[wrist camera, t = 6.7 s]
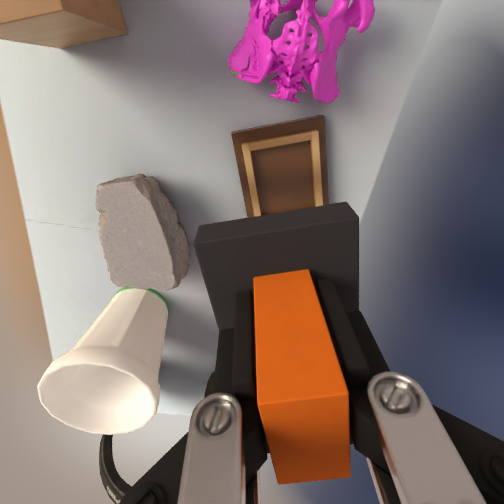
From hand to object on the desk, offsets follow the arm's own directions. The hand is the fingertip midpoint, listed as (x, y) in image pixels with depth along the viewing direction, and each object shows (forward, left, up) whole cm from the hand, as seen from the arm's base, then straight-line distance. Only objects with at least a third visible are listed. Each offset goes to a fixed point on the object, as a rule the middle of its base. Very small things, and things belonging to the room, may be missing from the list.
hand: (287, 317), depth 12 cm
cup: (+19, -21, -28) cm, 40 cm away
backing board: (+3, +2, -28) cm, 28 cm away
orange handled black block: (0, 0, -2) cm, 2 cm away
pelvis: (-10, +5, -28) cm, 30 cm away
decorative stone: (+6, -15, -28) cm, 32 cm away
